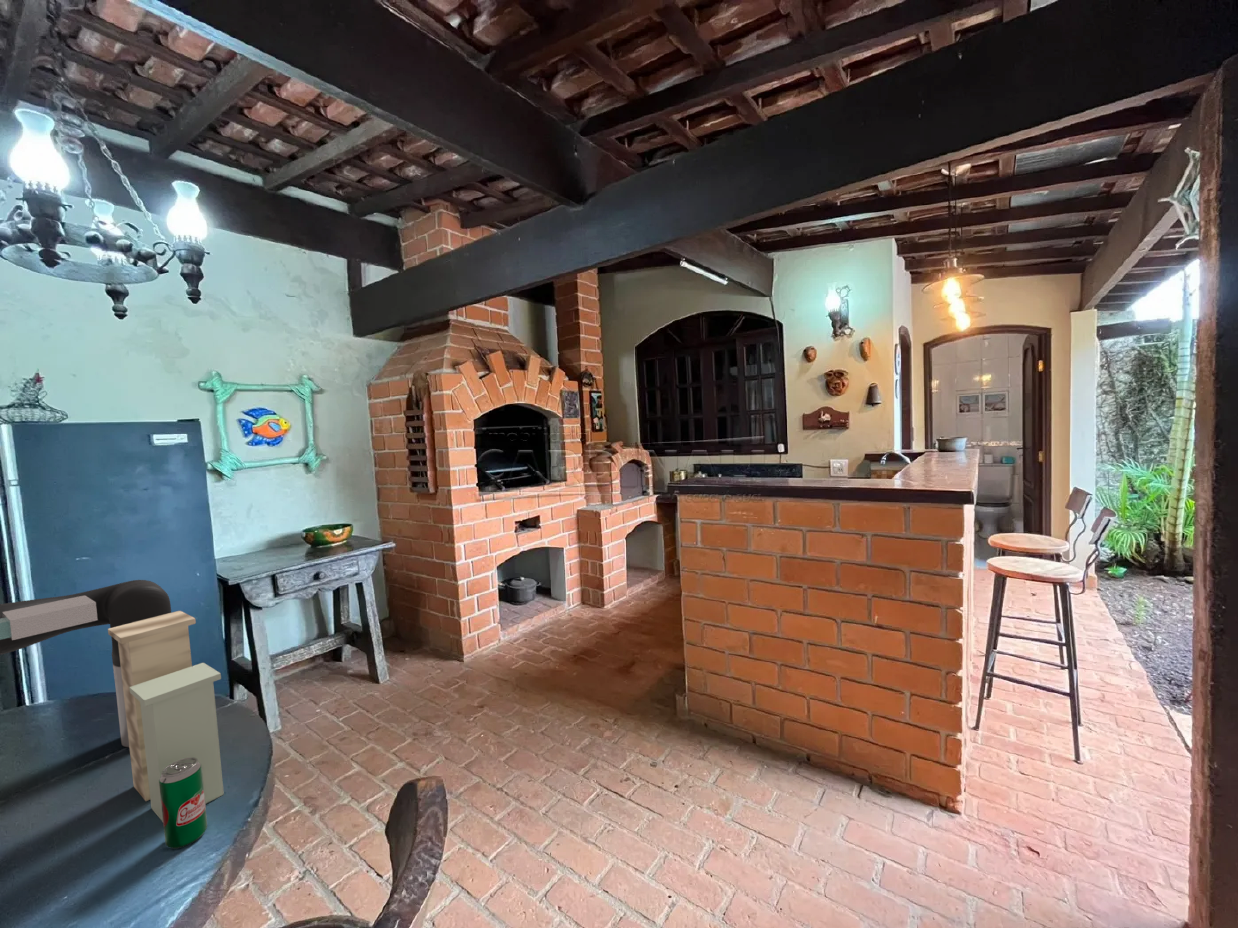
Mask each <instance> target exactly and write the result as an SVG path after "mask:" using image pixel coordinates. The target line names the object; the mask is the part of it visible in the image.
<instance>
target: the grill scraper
mask: <svg viewBox="0 0 1238 928" xmlns="http://www.w3.org/2000/svg"><path fill="white" fill-rule="evenodd" d="M2 614H3V618H1V619H0V640H1V639H5V638H11V639H12V640H16V639H20V638H24V637H28V636H32V635H37V634H41V633H45V632H49V631H54V630H58V629H62V628H66V627H71V626H75V625H79V624H83V623H88V622H92V621H96V620H98V619H97V609H96V602H95V601H93V600H91V599H90V598H88V597H87V596H85V595H84V596H79V597H74V598H69V599H64V600H60V601H55V602H50V603H45V604H40V605H35V606H30V607H25V608H20V609H15V610H10V611H5V612H2Z"/></svg>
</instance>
